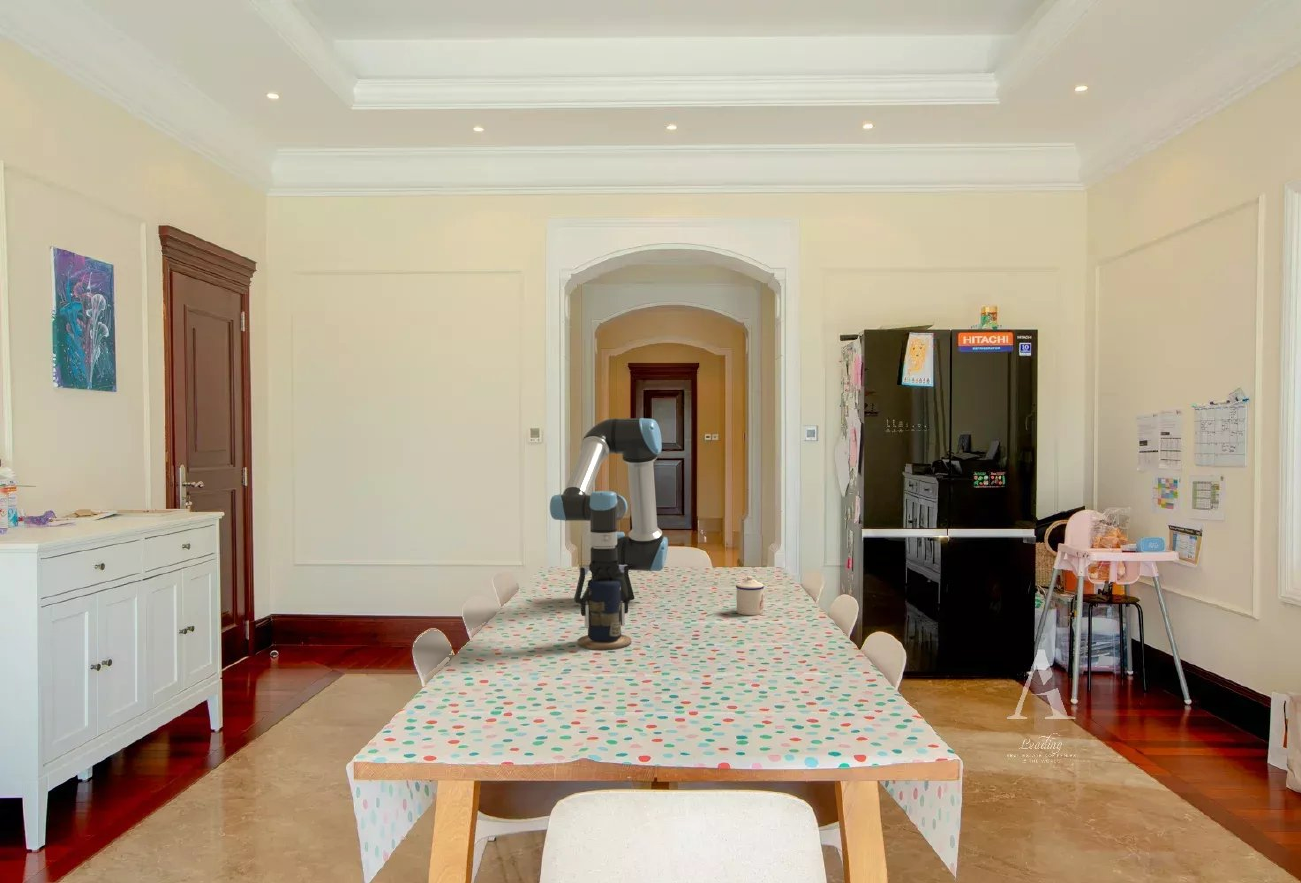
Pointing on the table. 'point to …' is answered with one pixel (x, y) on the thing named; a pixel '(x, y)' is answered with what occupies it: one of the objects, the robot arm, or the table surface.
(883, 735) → the table surface
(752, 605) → the teacup with lid
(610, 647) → the brown plate
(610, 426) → the robot arm
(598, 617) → the canister
